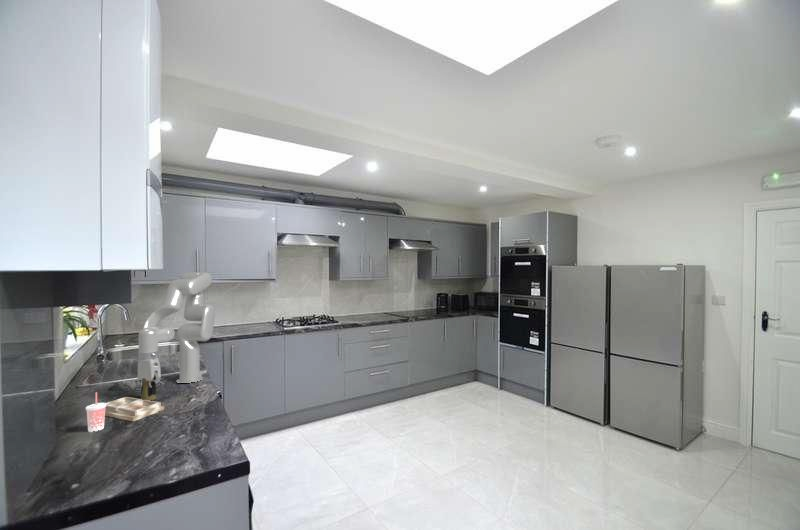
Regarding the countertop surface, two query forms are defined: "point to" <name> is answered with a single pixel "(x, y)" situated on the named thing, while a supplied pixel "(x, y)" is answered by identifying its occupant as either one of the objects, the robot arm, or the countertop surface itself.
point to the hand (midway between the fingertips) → (148, 394)
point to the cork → (146, 391)
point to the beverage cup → (96, 416)
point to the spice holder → (132, 408)
